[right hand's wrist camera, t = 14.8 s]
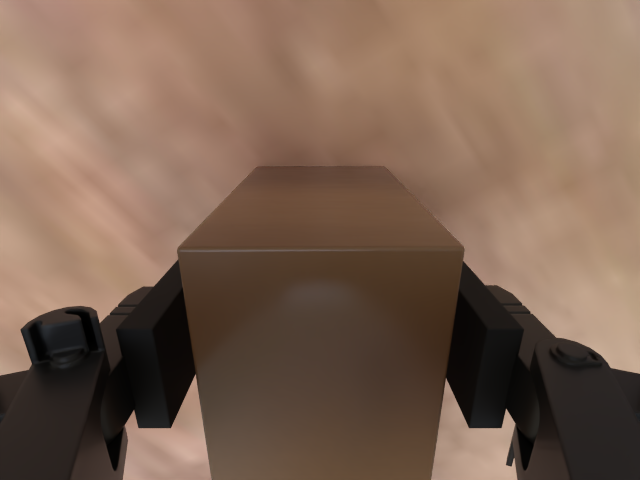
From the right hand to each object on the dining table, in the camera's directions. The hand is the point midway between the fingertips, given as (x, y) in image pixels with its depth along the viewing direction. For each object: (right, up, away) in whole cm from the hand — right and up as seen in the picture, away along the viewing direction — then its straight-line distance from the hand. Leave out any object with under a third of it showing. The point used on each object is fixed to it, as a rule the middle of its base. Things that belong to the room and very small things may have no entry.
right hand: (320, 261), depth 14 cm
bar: (0, -9, +5) cm, 10 cm away
